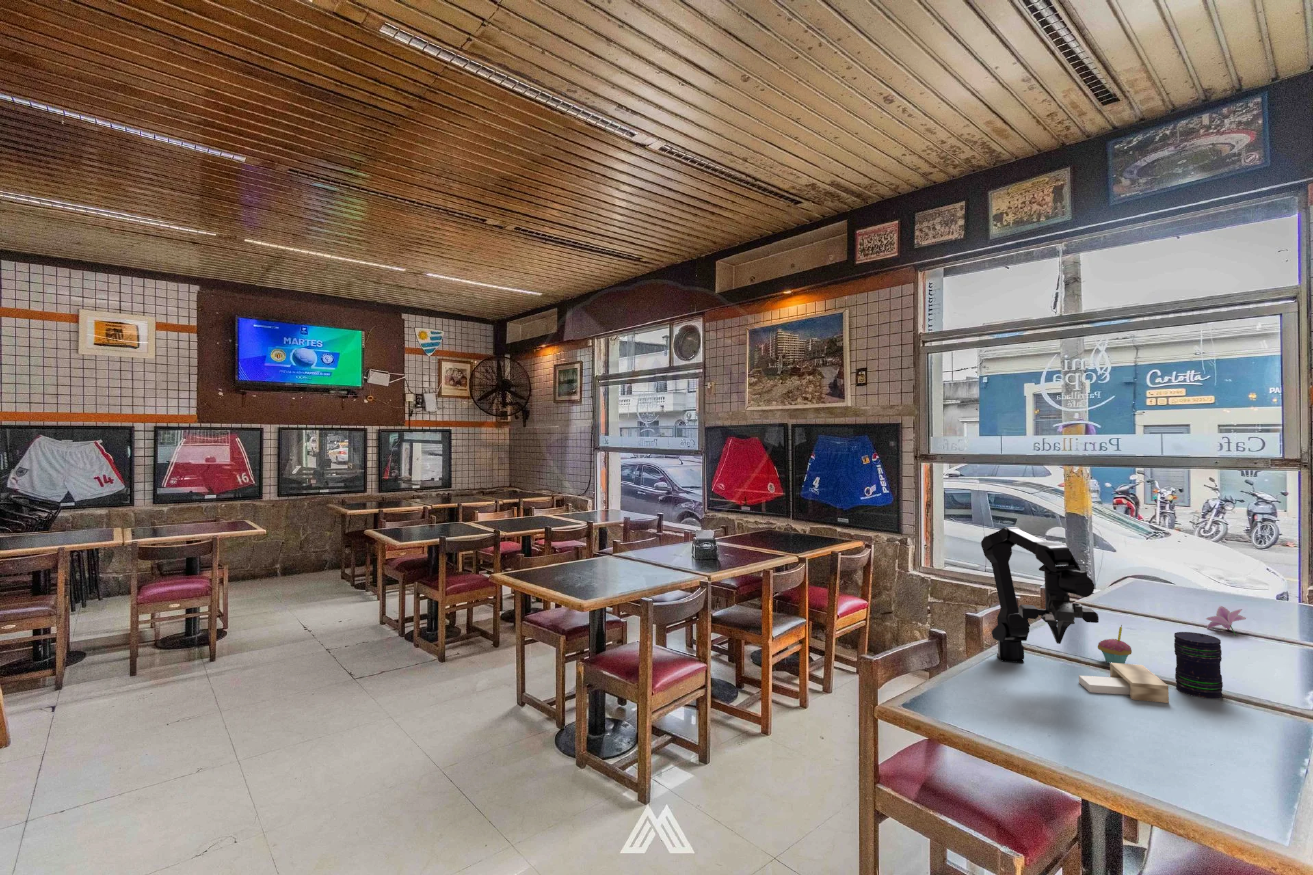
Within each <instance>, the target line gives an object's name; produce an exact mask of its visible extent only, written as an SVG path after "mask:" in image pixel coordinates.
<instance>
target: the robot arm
mask: <svg viewBox="0 0 1313 875" xmlns="http://www.w3.org/2000/svg"><path fill="white" fill-rule="evenodd" d="M980 546H981V549H982V551H983V555H984V557H985V558H986V559H987V560H988V561H989V563H991V568H992V571H993V578H994V582H995V586H996V587H995V588H996V593H997V596H998V602H999V606H1000V609H999V612H998V614H997V616H996V620H997V624H996V626H995V627H994V628H993V630H991V636H992V639H994V640H996V641H997V653H996V655H997V657H998V658H999V660H1000V661H1001V662H1009V663H1022V664H1024V660H1025V649H1024V648H1025V647H1024V645H1023V643H1022V641H1023V642H1026V641H1027V640H1028V637H1029V634H1030V627H1031V625H1030V622H1029V620H1036V619H1038V618H1039V616H1040V618H1041V619H1042V620H1043V622H1045V623H1047V625H1048V627H1049V629H1050V631H1051V634H1052V636H1053V638H1054V641H1055V643H1056V644H1059V645H1061V643H1062V641H1063V638H1064V635H1065V634H1066V631H1067V629H1068V628H1069V627H1070V626H1071V625H1075V619H1077V618H1078V619H1082V621H1084V622H1085V623H1093V624H1094V623H1095V624H1097V623H1099V614H1098V612H1096V611H1094V609H1092V608H1090V607H1089V608H1088V607H1083V605H1082V603H1078V602H1077V603H1076V602H1075V603H1072V602H1071V600H1070V599H1071V598H1070V594H1072V595H1075V596H1079V597H1082V598H1088V597H1090V596H1091V595H1092V594H1093V592H1094V591H1095V584H1094V582H1093V579H1092V578H1091V577H1090V576H1088V572H1087V571H1084V570H1083V571H1081V568H1080V566H1079V563H1078V561H1077V560H1076V559H1075V557H1074V555H1073V554H1072V552H1071V551H1070V550H1071V549H1070V548H1069V547H1068V546H1067V545H1065V544H1061V543H1055V542H1049V541H1045V540H1042V539H1041V538H1039V537H1037V536H1034V535H1032V534H1030V533H1028V532H1025V531H1024V530H1021V528H1020V527H1018V526H1017V527H1016V526H1007V527H1006V526H1005V527H1002V528H1000V529H999V530H998V531H994V532H992V533H991V534H988V535H985V536H984V537H983V538H982V540H981V542H980ZM1014 546H1018V547H1021V548H1022V549H1024V550H1026V551H1028V552H1030V553H1031V554H1033V555H1034V556H1035V559H1036V560H1038V561H1039V562H1040V563H1041V564H1042V566H1040V567H1038V571H1041V572H1043V574H1044V576H1043V577H1044V590H1043V591H1044V599H1045V600H1044V601H1045V602H1044V603H1045V604H1044V608H1037V607H1036V606H1035V605H1032V604H1020V605H1018V601H1017V596H1016V591H1015V586H1014V582H1013V578H1012V572H1011V568H1010V560H1011V557H1012V554H1013V547H1014Z"/></svg>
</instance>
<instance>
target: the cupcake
mask: <svg viewBox="0 0 1313 875" xmlns="http://www.w3.org/2000/svg"><path fill="white" fill-rule="evenodd" d="M1122 626H1123V624H1120V626H1119V628H1118V633H1117V634H1118V635H1117V638H1109V639H1107V638H1106V639H1103V640H1100V641H1099V642H1098V645H1097V649H1098V650H1100V652H1101V653H1102V654H1103V657H1104V660H1105V662H1106V661H1107V662H1106V663H1108V662H1112V663H1122V664H1126V662H1127V658H1128V657H1129V655H1132V653H1133V652H1132V650H1133V649H1132V647H1131V646H1130V645H1129V644H1128V643H1127V642H1125V641H1124V640H1123V641H1122V640H1121V636H1122V631H1123V627H1122Z"/></svg>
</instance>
